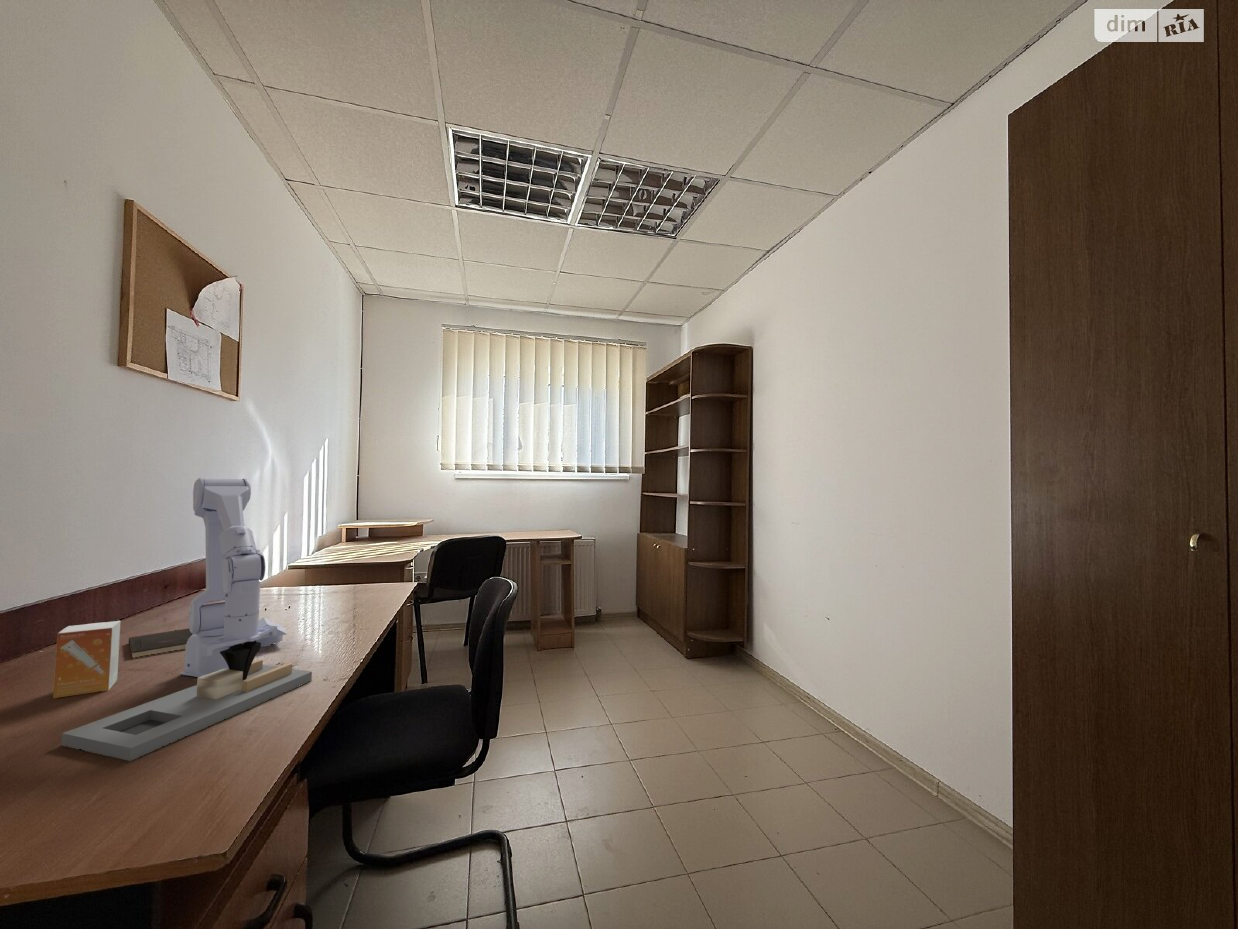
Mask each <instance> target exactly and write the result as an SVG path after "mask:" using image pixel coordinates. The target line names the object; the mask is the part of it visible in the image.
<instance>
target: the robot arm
mask: <svg viewBox="0 0 1238 929" xmlns="http://www.w3.org/2000/svg"><path fill="white" fill-rule="evenodd" d="M251 486H252V485H251V482H250V481H249V480H248V479H247V478H239V479H237V478H202V477H198V478H197V479H196V480H195V481H194V484H193V489H192V490H193V491H192V496H193V497H192V503H193V504H192V509H193V512H194V516H197V517H200V518H201V519H203V523H204V529H205V533H204V534H205V589H204V590H203V591H202V592H200V593H199V594H198V595H197V596H195V597H193V599H191V601H190V604H189V606H190V607H189V613H188V627H189V629H190V632H191V633H193V635H192V636H191V637H190V638H189V639H188V641H187V643H186V649H185V654H184V657H185V658H184V670H183V671H180V675H183V676H189V677H190V676H191V677H195V678H199V677H202V676H204V675H207V674H210V673H213V672H216V671H219V670H222V669H229V670H236V671H243V680H246V679H247V675H248V672H249V669H250V667H251V664H252V662H253V661H254V659H255V657H256V656H257V654H258V652H259V651H260V650H261V648H262V647H261V643H260V642H256V640H259V639H262V638H265V637H268V636H275V635H277V626H272V625H270V626H266V627H261V628H258V626H259V620H260V597H261V595H260V594H261V582H262V581H263V580H264V579H265V575H266V560H265V556H264V554H263V553H262V552H261V550H260V549H257V545H256V542H255V538H254V535H253V531H252V530H251V529H250V528H249V527H247V526H245V519H244V510H245V508H246V507H247V506H248V503H249V502H250V499H251V495H252V487H251ZM260 581H261V582H260ZM220 601H223V602H220ZM211 602H213V603H211ZM214 602H217V603H214ZM206 603H208V604H206ZM243 680H242V681H243Z"/></svg>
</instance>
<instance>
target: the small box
mask: <svg viewBox="0 0 1238 929" xmlns="http://www.w3.org/2000/svg"><path fill="white" fill-rule="evenodd" d="M120 633H121V620H115V621H114V620H113V621H107V622H103V621H102V622H94V623H86V624H85V623H83V624H78V625H77V624H76V625H68V626H66V627H65V628H63V629H62V630H60V631H59V632H57V636H56V638H57V639H56V651H55V662H54V663H55V664H54V665H55V666H54V678H53V679H54V680H53V697H52V698H53V699H58V698H64V697H70V696H77V695H79V696H80V695H85V694H93V693H98V692H99V691H100V692H107V691H109V690H110V689H112V687H113V686H114V684H116V682H117V681H118V674H119V673H118V670H119V652H120V637H121V634H120Z"/></svg>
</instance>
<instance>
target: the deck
mask: <svg viewBox="0 0 1238 929" xmlns="http://www.w3.org/2000/svg"><path fill="white" fill-rule="evenodd" d="M263 663H264V660H263V659H256V660H253V662H252V664H251V667H250V669H249V672H248V675H247V679H246V680H243V681H242V689H241V690H239V691H236V692H234V693H231V694H229V695H226V696H224V697H221V698H219V699H210V698H204V697H198V696H197V684H196V685H193V686H190V687H186V688H184V689H182V690H179V691H176V692H173V693H171V694H168V695H165V696H162V697H159V698H156V699H153V700H151V701H149V702H145V703H143V704H140V705H137V706H135V707H134V706H133V707H131V708H129V709H126V710H123V711H120V712H117V713H115V714H111V715H109V716H107V717H103V718H101V719H98V720H95V721H92V722H89V723H87V724H84V725H82V726H79V727H76V728H73V729H70V730H67V731H65V732H62V733H61V745H62V746H61V747H65V746H68V747H67V748H70V747H71V748H70V749H74V748H75V749H74V750H79V749H82V750H81V751H83V750H84V751H83V752H88V753H93V754H96V753H98V755H101V754H102V756H106V757H110V756H111V757H110V758H114V757H115V759H119V760H123V761H128V762H131V761H134V760H136V759H139V758H141V757H143V756H145V754H146V755H148V754H149V753H150V754H151V753H152V752H155V751H157V750H159V749H161V748H163V747H162V746H164V747H166V746H168V745H170V744H172V743H175V742H177V741H179V740H182V739H184V738H185V736H186V737H188V736H191V735H193V734H195V733H198V732H200V731H202V730H204V729H206V728H208V726H209V727H210V726H213V725H216V724H218V723H220V722H222V721H224V719H225V720H226V719H228V718H231V717H234V716H235V715H238V714H240V713H242V712H244V711H247V710H249V709H251V708H254V707H256V706H258V705H260V703H261V704H263V703H265V702H267V701H269V699H270V700H272V699H274V698H275V697H279V696H280V695H283V694H284V692H285V693H287V692H286V691H288V692H289V690H290V691H292V690H294V689H297V688H298V686H299V685H301V684H303V685H305V683H306V684H308V683H309V682H308V681H310V682H312V681H313V680H312V679H313V678H312V677H313V674H312V673H313V672H312V671H311V670H310V671H309V670H303V669H296V668H295V669H294V668H293V663H285V664H283V665H280V666H275V665H274V666H273V665H267V664H263ZM307 682H308V683H307ZM301 686H302V685H301ZM296 687H297V688H296ZM299 687H300V686H299ZM293 688H294V689H293ZM291 689H292V690H291ZM278 695H279V696H278ZM271 698H272V699H271ZM262 702H263V703H262ZM217 722H218V723H217ZM178 739H179V740H178ZM169 743H170V744H169ZM156 749H157V750H156ZM154 750H155V751H154ZM140 756H141V757H140Z"/></svg>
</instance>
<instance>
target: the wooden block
mask: <svg viewBox="0 0 1238 929" xmlns="http://www.w3.org/2000/svg"><path fill="white" fill-rule="evenodd" d="M196 678H197V682H196V685H197V696H198V697H204V698H210V699H219V698H221V697H224V696H226V695H229V694H231V693H234V692H236V691H239V690H241V689H242V680H243V671H236V670H229V669H222V670H219V671H216V672H213V673H210V674H207V675H204V676H202V677H196Z"/></svg>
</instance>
